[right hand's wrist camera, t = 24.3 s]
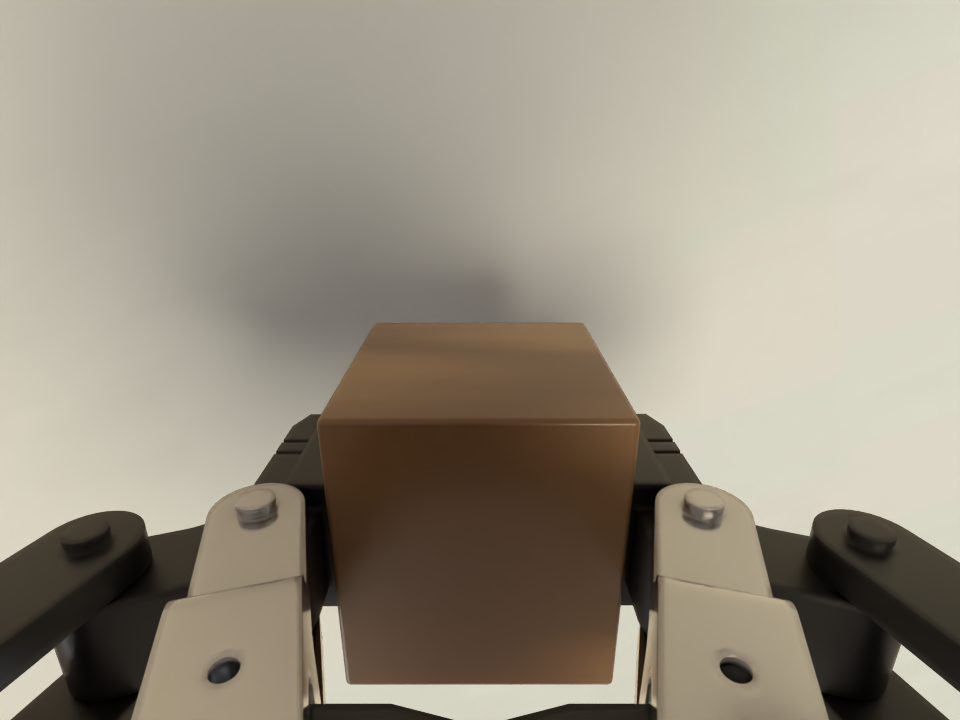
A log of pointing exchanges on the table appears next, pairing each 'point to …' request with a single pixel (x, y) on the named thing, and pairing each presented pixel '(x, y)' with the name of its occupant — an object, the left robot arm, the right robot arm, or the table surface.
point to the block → (478, 504)
